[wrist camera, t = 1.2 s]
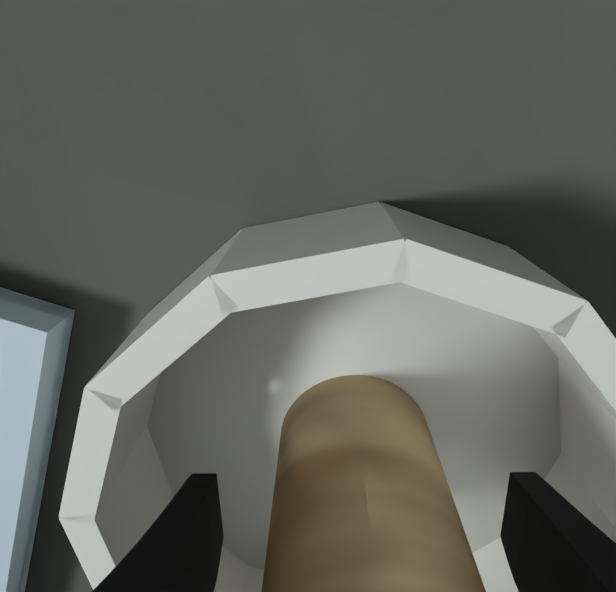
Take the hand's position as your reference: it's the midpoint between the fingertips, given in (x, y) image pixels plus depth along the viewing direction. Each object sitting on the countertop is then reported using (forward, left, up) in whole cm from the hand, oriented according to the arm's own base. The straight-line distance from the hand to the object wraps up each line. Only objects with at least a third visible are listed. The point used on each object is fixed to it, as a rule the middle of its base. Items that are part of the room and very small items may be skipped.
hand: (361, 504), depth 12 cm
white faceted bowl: (0, 0, -3) cm, 3 cm away
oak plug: (0, 0, -3) cm, 3 cm away
